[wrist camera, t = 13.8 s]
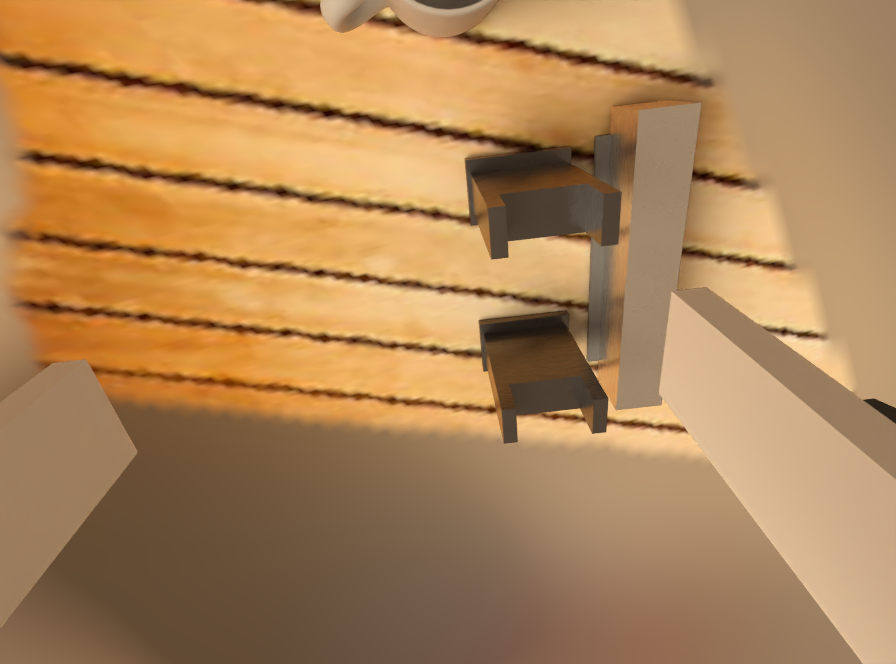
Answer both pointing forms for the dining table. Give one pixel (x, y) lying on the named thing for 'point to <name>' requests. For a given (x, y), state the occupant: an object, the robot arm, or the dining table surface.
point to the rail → (644, 244)
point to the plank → (597, 256)
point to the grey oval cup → (410, 14)
